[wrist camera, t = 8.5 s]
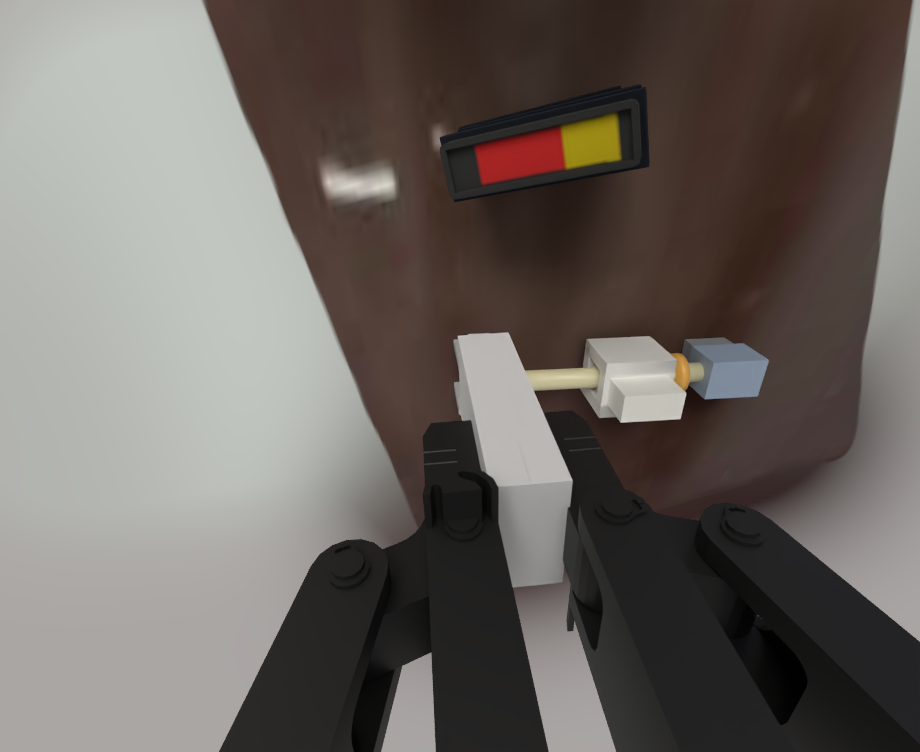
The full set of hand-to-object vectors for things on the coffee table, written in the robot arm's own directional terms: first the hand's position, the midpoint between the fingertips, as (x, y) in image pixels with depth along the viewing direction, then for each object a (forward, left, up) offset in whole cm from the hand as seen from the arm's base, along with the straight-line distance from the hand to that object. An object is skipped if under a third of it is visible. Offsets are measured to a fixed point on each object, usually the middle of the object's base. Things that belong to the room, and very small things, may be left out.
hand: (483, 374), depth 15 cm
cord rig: (+13, +15, -28) cm, 35 cm away
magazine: (-6, +7, -29) cm, 30 cm away
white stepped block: (+13, +16, -27) cm, 34 cm away
